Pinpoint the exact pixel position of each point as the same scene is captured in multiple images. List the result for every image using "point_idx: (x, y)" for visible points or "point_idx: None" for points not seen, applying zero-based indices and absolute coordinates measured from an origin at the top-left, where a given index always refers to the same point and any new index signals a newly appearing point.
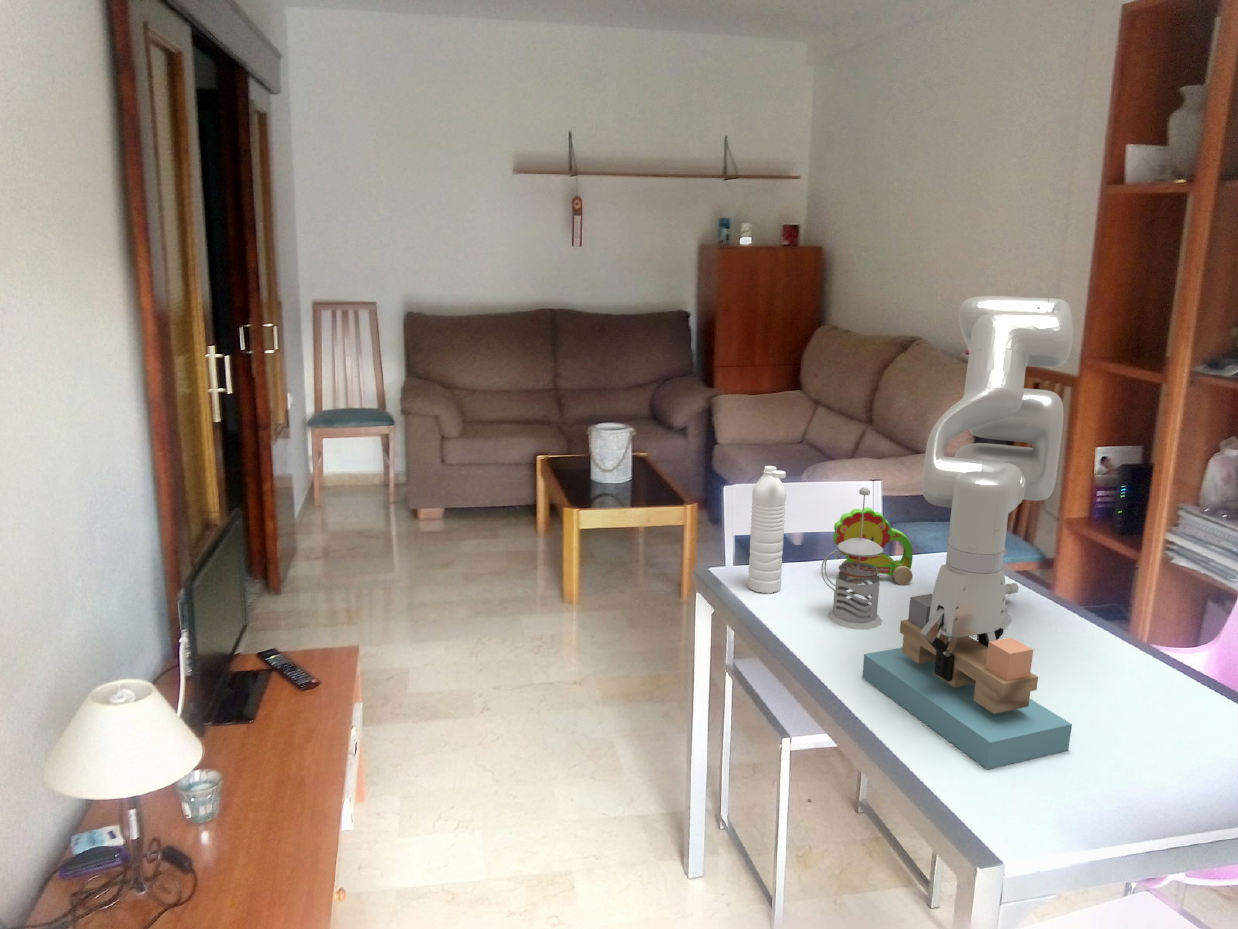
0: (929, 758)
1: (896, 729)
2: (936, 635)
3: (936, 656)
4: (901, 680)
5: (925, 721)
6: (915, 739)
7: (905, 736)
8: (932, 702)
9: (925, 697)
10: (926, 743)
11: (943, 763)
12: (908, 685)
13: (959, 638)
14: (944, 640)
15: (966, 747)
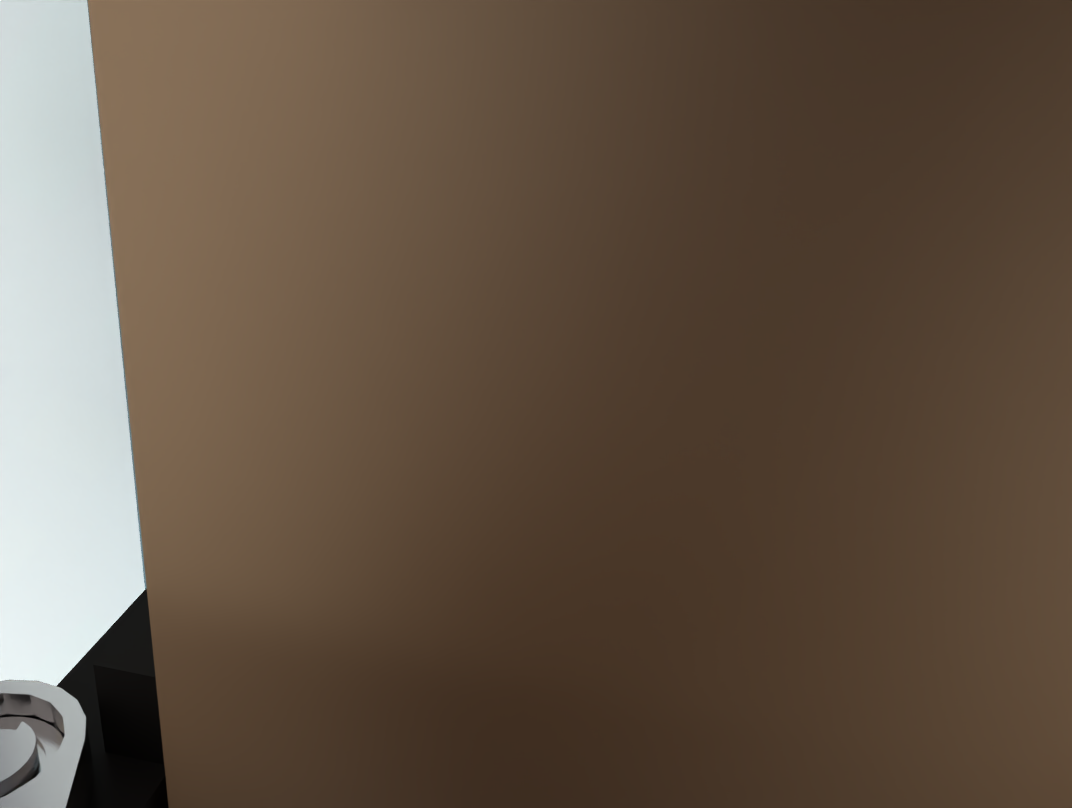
0: (41, 668)
1: (13, 352)
2: (445, 312)
3: (84, 667)
4: (95, 78)
5: None
6: (73, 502)
7: (28, 446)
8: (144, 572)
9: (135, 484)
10: (115, 565)
11: None
12: (109, 218)
13: (878, 743)
14: (416, 623)
15: None
